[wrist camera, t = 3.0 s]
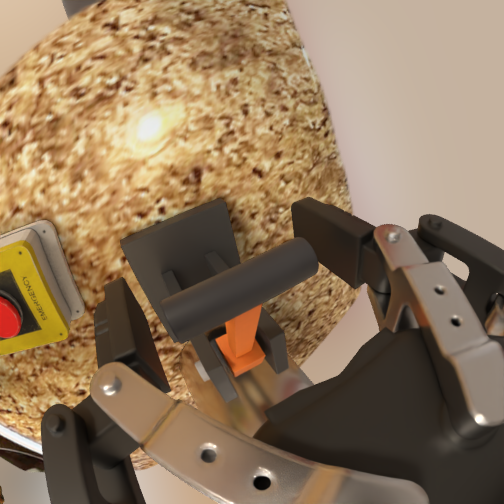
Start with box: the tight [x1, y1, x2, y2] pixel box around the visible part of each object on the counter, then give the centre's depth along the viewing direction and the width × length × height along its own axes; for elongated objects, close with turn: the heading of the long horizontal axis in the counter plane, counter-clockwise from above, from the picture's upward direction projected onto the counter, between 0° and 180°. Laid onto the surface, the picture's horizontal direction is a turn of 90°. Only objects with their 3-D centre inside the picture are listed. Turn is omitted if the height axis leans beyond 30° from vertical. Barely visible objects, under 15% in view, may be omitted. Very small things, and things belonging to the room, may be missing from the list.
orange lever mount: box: [120, 198, 289, 403], centre depth 20 cm, size 12×9×12 cm
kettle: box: [179, 323, 314, 437], centre depth 26 cm, size 14×14×17 cm
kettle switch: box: [160, 237, 319, 377], centre depth 13 cm, size 12×5×2 cm, turn 11°
